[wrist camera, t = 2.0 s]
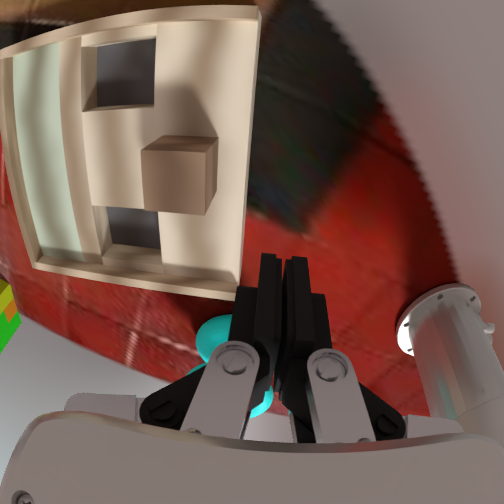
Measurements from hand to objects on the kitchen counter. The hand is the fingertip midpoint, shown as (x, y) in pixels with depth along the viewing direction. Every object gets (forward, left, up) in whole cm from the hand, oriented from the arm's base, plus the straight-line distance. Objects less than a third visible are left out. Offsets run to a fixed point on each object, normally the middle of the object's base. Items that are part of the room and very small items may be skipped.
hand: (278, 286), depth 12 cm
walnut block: (+7, 0, -14) cm, 16 cm away
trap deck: (+15, 0, -17) cm, 23 cm away
